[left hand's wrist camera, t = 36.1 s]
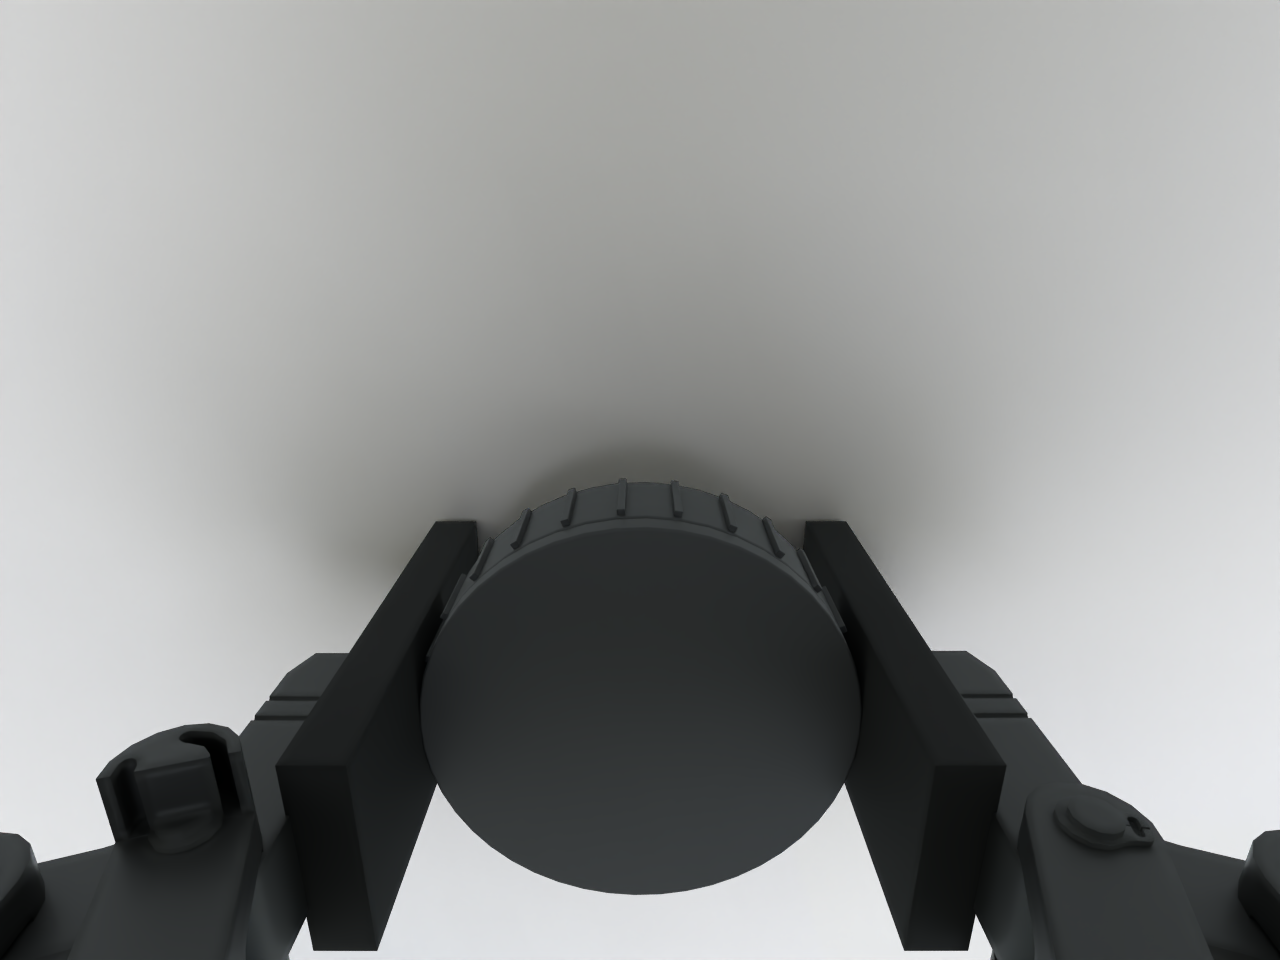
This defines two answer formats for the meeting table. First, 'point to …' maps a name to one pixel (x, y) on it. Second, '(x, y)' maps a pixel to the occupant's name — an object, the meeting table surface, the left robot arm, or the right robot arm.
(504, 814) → the lid
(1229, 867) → the left robot arm
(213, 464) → the meeting table surface
